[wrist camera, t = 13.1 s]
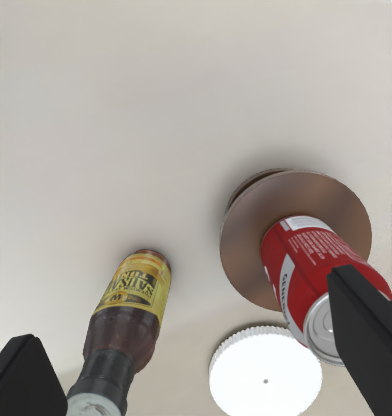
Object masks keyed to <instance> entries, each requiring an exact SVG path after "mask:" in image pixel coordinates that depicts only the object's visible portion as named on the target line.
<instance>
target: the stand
mask: <svg viewBox="0 0 392 416" xmlns="http://www.w3.org/2000/svg"><path fill="white" fill-rule="evenodd" d="M293 215H309V216H313V217H315V218H318V219H319V220H321V221H323V222H324V223H325V224H326V225H327V226H328V227H329V228H330V229H332V230H333V231H334V232H335V233H336V234H337V235H338V236H339V237H340V238H341V239H342V240H343V241H344V242H346V243H347V244H348V245H349V246H350V247H351V248H352V249H353V250H354V251H355V252H356V253H357V254H358V255H360V256H361V257H362V258H363V259H364V260H365V261H366V262H367V260H368V257H369V254H370V249H371V243H372V232H371V224H370V220H369V216H368V214H367V212H366V209H365V207H364V206H363V204H362V202H361V201H360V199H359V198H358V197H357V196H356V195H355V194H354V192H352V191H351V190H350V189H349V188H348V187H347V186H345V185H344V184H342V183H340V182H339V181H337V180H335V179H333V178H331V177H329V176H327V175H324V174H321V173H317V172H313V171H306V170H292V169H282V168H278V169H270V170H266V171H263V172H260V173H258V174H256V175H254V176H252V177H250V178H249V179H247V180H246V181H245V182H243V183H242V184H241V185H240V186H239V187H238V188H237V190H236V191H235V192H234V194H233V195H232V197H231V199H230V201H229V203H228V206H227V209H226V213H225V218H224V221H223V224H222V227H221V232H220V238H219V248H220V257H221V262H222V266H223V269H224V271H225V274H226V276H227V278H228V279H229V281H230V283H231V284H232V285H233V287H234V288H235V289H236V290H237V291H238V292H239V293H240V294H241V295H242V296H243V297H245V298H246V299H247V300H249V301H250V302H252V303H254V304H256V305H258V306H260V307H263V308H265V309H269V310H273V311H279V312H282V310H281V308H280V306H279V303H278V301H277V298H276V296H275V293H274V291H273V288H272V286H271V283H270V281H269V279H268V276H267V274H266V271H265V269H264V266H263V264H262V261H261V257H260V247H261V243H262V240H263V238H264V236H265V234H266V232H267V231H268V230H269V229H270V228H271V226H273V225H274V224H275V223H276V222H278V221H279V220H281V219H283V218H286V217H289V216H293Z"/></svg>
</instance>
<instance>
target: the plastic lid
mask: <svg viewBox="0 0 392 416" xmlns="http://www.w3.org/2000/svg"><path fill="white" fill-rule="evenodd" d="M210 363H211V365H210V369H209V384H210V391H211V394H212V395H213V399H215V402H216V403H217V405H218V406H220V409H223V411H224V412H226V414H229V415H230V416H296V415H297V416H298V415H299V413H302V412H303V410H306V409H307V407H309V406H310V404H312V403H313V402H312V401H313V400H315V397H317V396H318V395H317V393H319V389H321V387H320V385H322V383H321V381H322V377H323V375H322V370H321V369H322V368H321V366H320V362H319V360H318V358H317V357H316V356H315V355H314V354H313V353H312V352H311V351H310V350H309V349H307V348H306V347H304V346H303V345H301V344H300V343H299V342H298V341H297V340H296V339H295V338H294V336H293V335H292V333H291V332H290V331H289V330H288V329H284V328H282V327H281V328H279V327H278V326H277V327H274V326H271V327H269V326H266V327H264V326H261V327H259V326H256V328H254V327H251V329H249V328H247V329H246V330H242V332H237V334H233V336H232V337H229V339H228V340H227V339H226V340H225V342H224V343H222V345H221V346H219V349H217V350H216V353H214V357H212V361H211V362H210Z"/></svg>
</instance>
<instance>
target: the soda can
mask: <svg viewBox="0 0 392 416" xmlns="http://www.w3.org/2000/svg"><path fill="white" fill-rule="evenodd" d="M260 257H261V261H262V264H263V266H264V269H265V271H266V274H267V276H268V279H269V281H270V283H271V286H272V288H273V291H274V293H275V296H276V298H277V301H278V303H279V306H280V308H281V310H282V313H283V315H284V318H285V320H286V323H287V325H288V328H289V330H290V332H291V333H292V335H293V336H294V338H295V339H296V340H297V341H298V342H299V343H300V344H301V345H303V346H304V347H306V348H307V349H309V350H310V351H311V352H312V353H313V354H314V355H315V356H316V357H317V358H318V359H320V360H322V361H323V362H325V363H328V364H331V365H334V366H341V367H345V365H344V363H343V362H342V360H341V358H340V357H339V355H338V352H337V350H336V347H335V341H334V334H333V326H332V318H331V310H330V303H329V295H328V287H327V279H326V274H328V273H331V269H332V268H333V267H337V266H342V265H347V264H352V265H353V266H354V267H355V268H356V269H357V270H358V271H359V272H360V273H361V274H362V275H363V276H364V277H365V278H366V279H367V280H368V281H369V282H370V283H371V284H372V285H373V286H374V287H375V288H376V289H377V290H378V291H379V292H380V293H381V294H382V295H383V296H384V297H385V298H386V299H387V300H388V301H390V300H392V293H391V290H390V288H389V286H388V284H387V282H386V281H385V280H384V278H383V277H382V276H381V275H380V274H379V273H378V272H377V271H376V270H375V269H374V268H372V267H371V266H370V265H369V264H368V263H367V262H366V261H365V260H364V259H363V258H362V257H361V256H360V255H358V254H357V253H356V252H355V251H354V250H353V249H352V248H351V247H350V246H349V245H348V244H347V243H346V242H344V241H343V240H342V239H341V238H340V237H339V236H338V235H337V234H336V233H335V232H334V231H333V230H332V229H330V228H329V227H328V226H327V225H326V224H325V223H324V222H323V221H321V220H319V219H318V218H315V217H313V216H309V215H293V216H289V217H286V218H283V219H281V220H279V221H278V222H276V223H275V224H274V225H273V226H271V228H270V229H269V230H268V231H267V232H266V234H265V236H264V238H263V240H262V243H261V247H260Z"/></svg>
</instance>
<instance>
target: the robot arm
mask: <svg viewBox="0 0 392 416" xmlns="http://www.w3.org/2000/svg"><path fill="white" fill-rule="evenodd" d="M326 279H327V287H328V295H329V303H330V310H331V318H332V326H333V334H334V341H335V347H336V350H337V352H338V355H339V357H340V358H341V360H342V362H343V363H344V365H345V367H346V368H347V370H348V372H349V373H350V375H351V377H352V378H353V380H354V382H355V383H356V385H357V387H358V388H359V390H360V392H361V393H362V395H363V397H364V398H365V400H366V402H367V404H368V405H369V407H370V409H371V410H372V412H373V414H374V415H375V416H392V300H390V301H388V300H387V299H386V298H385V297H384V296H383V295H382V294H381V293H380V292H379V291H378V290H377V289H376V288H375V287H374V286H373V285H372V284H371V283H370V282H369V281H368V280H367V279H366V278H365V277H364V276H363V275H362V274H361V273H360V272H359V271H358V270H357V269H356V268H355V267H354V266H353V265H352V264H347V265H342V266H337V267H333V268H332V269H331V273H328V274H326ZM67 411H68V401H67V398H66V396H65V394H64V391H63V389H62V387H61V385H60V383H59V380H58V378H57V376H56V374H55V371H54V369H53V367H52V365H51V363H50V360H49V358H48V356H47V354H46V351H45V349H44V347H43V345H42V343H41V341H40V339H39V338H38V337H34V335H32V334H27V335H22V336H18V337H13V338H11V339H10V340H9V341H8V343H7V344H6V346H5V347H4V348H3V350H2V351H1V352H0V416H66V414H67Z"/></svg>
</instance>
